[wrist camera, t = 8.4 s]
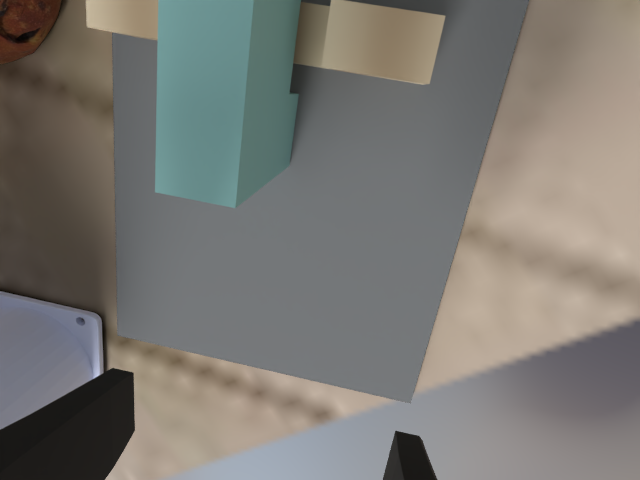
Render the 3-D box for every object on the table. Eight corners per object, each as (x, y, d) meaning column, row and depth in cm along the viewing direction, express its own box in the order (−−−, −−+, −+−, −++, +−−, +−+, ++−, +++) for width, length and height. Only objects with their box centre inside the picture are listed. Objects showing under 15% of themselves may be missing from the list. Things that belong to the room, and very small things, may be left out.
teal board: (236, 155, 19) (154, 192, 12) (260, -123, 15) (163, -283, 9) (289, 165, 18) (235, 208, 12) (325, -115, 15) (277, -272, 8)
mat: (121, 331, 23) (117, 335, 23) (116, -109, 16) (109, -113, 16) (410, 398, 22) (410, 403, 22) (540, -51, 15) (544, -55, 15)
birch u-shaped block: (134, 36, 18) (86, 27, 15) (134, -18, 17) (84, -40, 14) (422, 84, 17) (429, 84, 14) (435, 28, 16) (445, 15, 13)
